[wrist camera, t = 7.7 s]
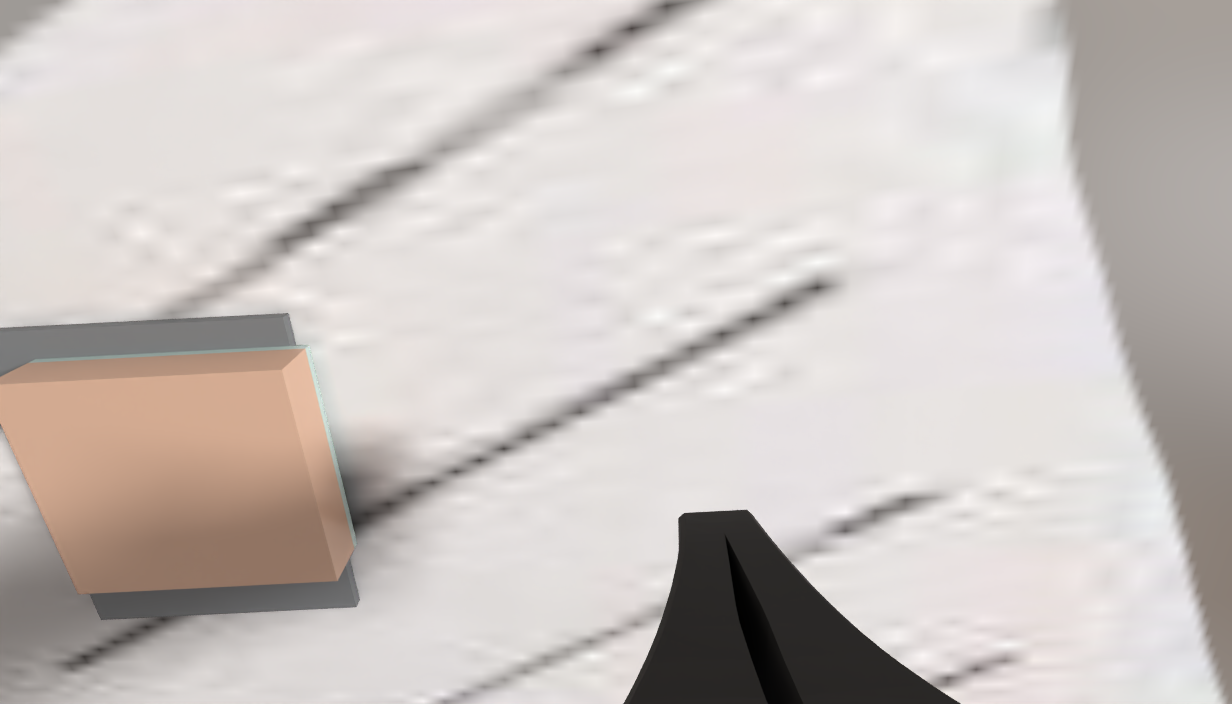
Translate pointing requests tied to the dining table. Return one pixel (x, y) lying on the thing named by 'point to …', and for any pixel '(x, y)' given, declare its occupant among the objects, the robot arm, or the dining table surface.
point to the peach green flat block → (182, 468)
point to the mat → (26, 344)
